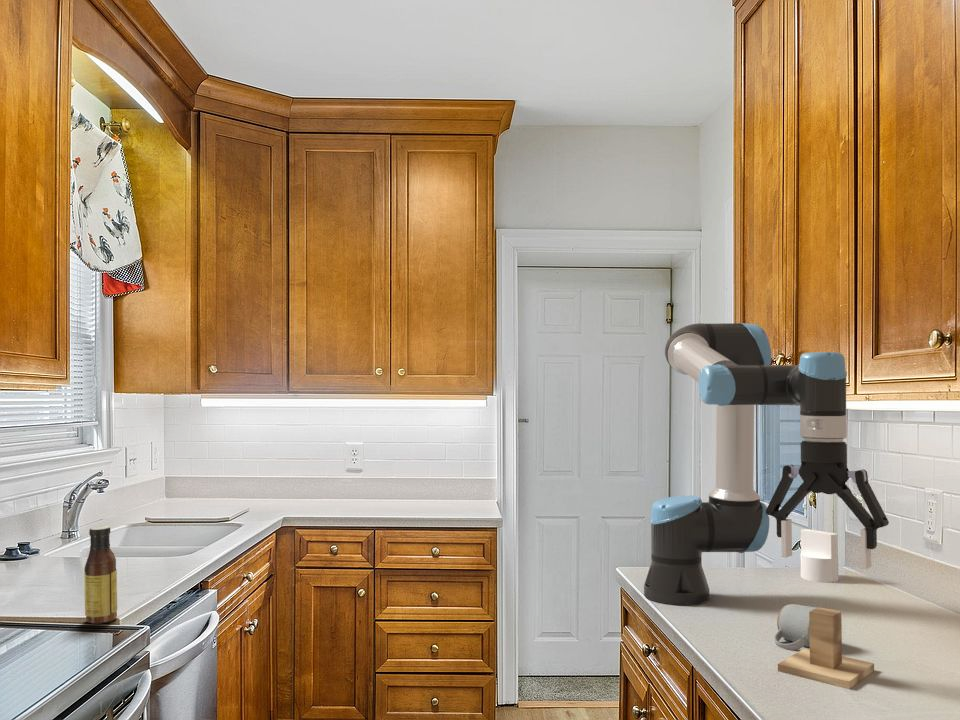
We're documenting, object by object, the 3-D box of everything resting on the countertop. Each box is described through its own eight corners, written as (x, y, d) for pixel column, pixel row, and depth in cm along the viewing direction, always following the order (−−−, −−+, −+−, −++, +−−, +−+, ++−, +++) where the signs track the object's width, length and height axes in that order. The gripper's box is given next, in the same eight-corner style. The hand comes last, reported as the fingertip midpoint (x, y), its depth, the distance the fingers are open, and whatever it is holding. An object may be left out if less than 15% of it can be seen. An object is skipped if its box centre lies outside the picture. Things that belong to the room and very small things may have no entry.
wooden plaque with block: (805, 654, 150) (804, 598, 150) (874, 670, 141) (873, 611, 142) (777, 670, 141) (777, 611, 141) (849, 688, 133) (848, 626, 133)
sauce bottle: (105, 614, 176) (106, 523, 177) (123, 619, 173) (124, 525, 174) (77, 622, 171) (78, 527, 171) (95, 627, 168) (96, 530, 168)
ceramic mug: (797, 635, 162) (797, 597, 162) (835, 646, 155) (834, 606, 155) (763, 646, 156) (762, 606, 157) (800, 658, 150) (799, 616, 150)
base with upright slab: (845, 579, 209) (844, 532, 209) (826, 584, 204) (825, 536, 204) (813, 572, 216) (812, 527, 217) (793, 577, 211) (793, 531, 211)
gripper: (746, 437, 148) (747, 554, 147) (892, 444, 131) (895, 576, 130) (764, 436, 154) (765, 549, 153) (907, 442, 136) (909, 569, 135)
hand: (825, 562), depth 141 cm, fingers open, 13 cm apart
